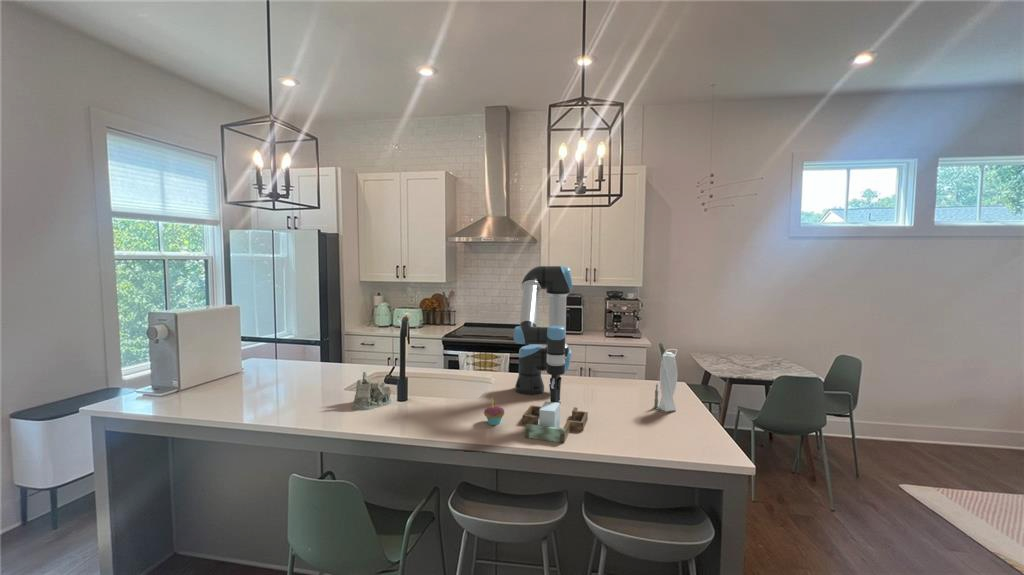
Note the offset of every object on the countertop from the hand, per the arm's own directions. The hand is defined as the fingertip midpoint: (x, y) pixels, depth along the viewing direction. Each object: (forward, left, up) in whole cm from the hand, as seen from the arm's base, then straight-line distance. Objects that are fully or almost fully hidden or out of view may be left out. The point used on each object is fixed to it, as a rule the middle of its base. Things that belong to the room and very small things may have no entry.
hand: (555, 419), depth 179 cm
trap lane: (0, -3, -2) cm, 3 cm away
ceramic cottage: (-86, -6, -2) cm, 86 cm away
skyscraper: (+45, +33, -2) cm, 56 cm away
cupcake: (-24, -8, -2) cm, 25 cm away
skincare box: (0, -9, -2) cm, 9 cm away
